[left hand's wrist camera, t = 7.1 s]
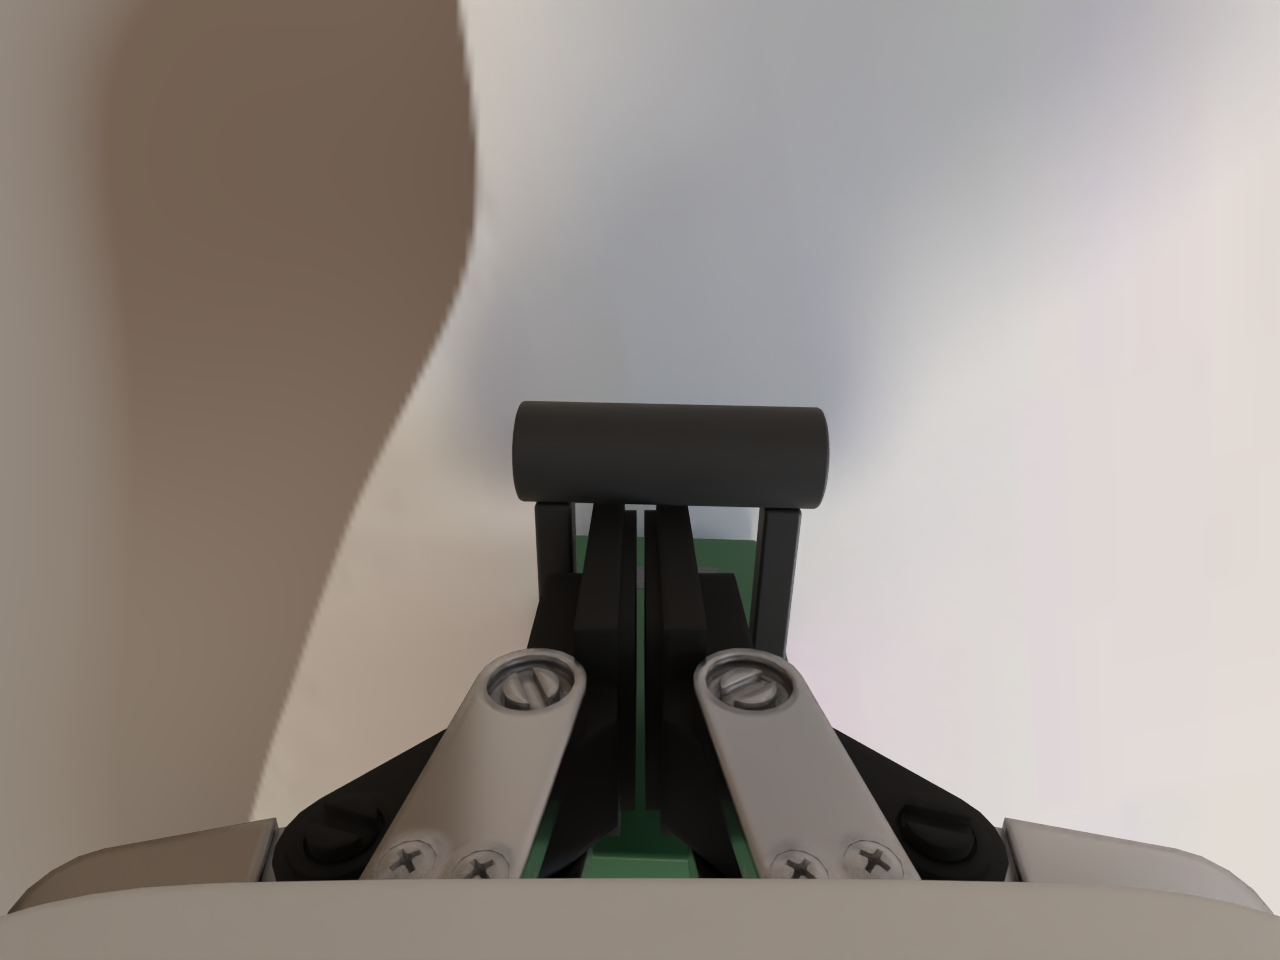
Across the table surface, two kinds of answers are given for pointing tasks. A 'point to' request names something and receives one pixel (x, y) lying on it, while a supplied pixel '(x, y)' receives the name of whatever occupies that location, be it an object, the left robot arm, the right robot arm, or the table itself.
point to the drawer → (693, 476)
